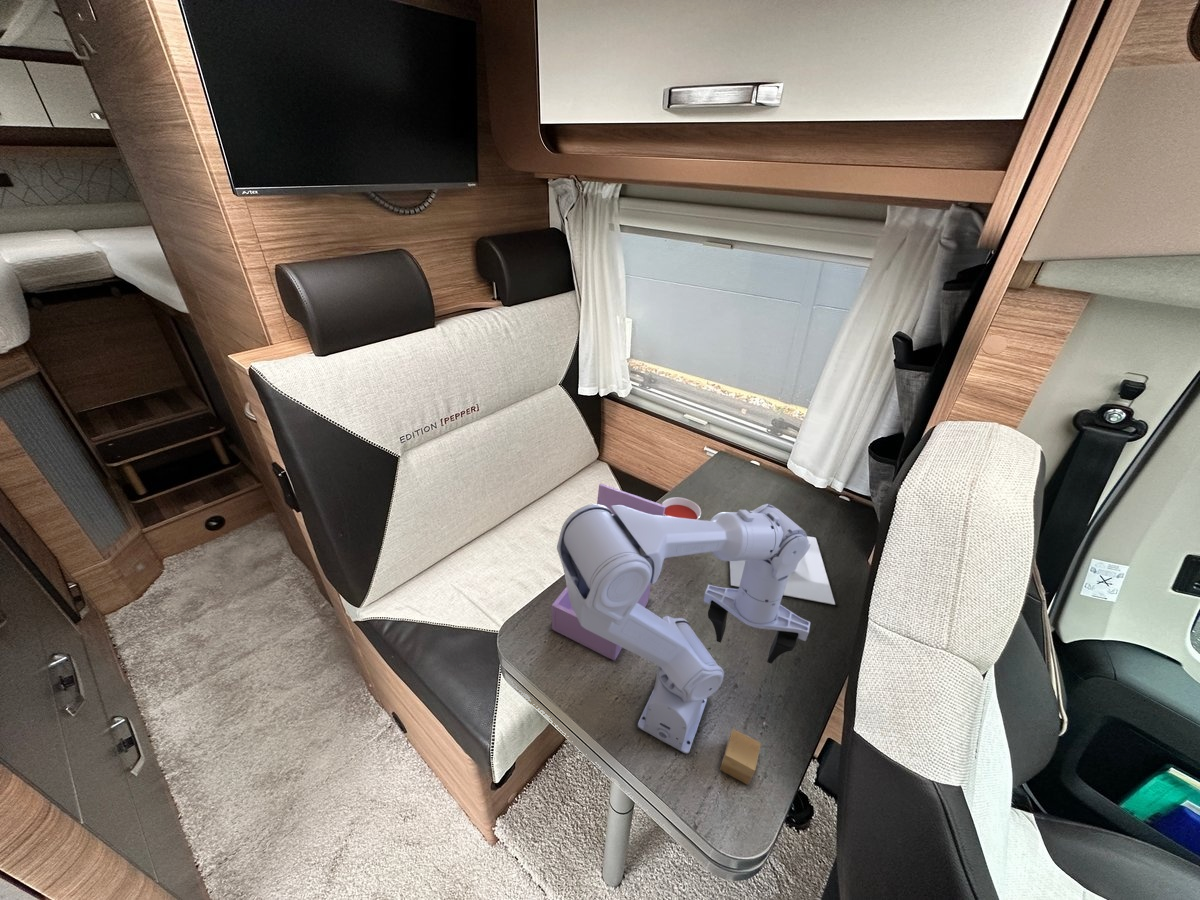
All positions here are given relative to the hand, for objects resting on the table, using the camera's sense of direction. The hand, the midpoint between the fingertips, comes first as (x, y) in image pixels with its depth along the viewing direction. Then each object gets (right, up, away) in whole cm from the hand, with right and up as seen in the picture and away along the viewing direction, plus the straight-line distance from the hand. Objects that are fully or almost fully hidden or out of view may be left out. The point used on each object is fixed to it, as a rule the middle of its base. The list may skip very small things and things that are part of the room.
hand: (744, 647), depth 72 cm
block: (-3, -14, -6) cm, 15 cm away
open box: (-22, 0, +15) cm, 26 cm away
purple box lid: (-18, +15, +13) cm, 27 cm away
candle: (-4, +11, +37) cm, 39 cm away
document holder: (+16, +6, +30) cm, 34 cm away
